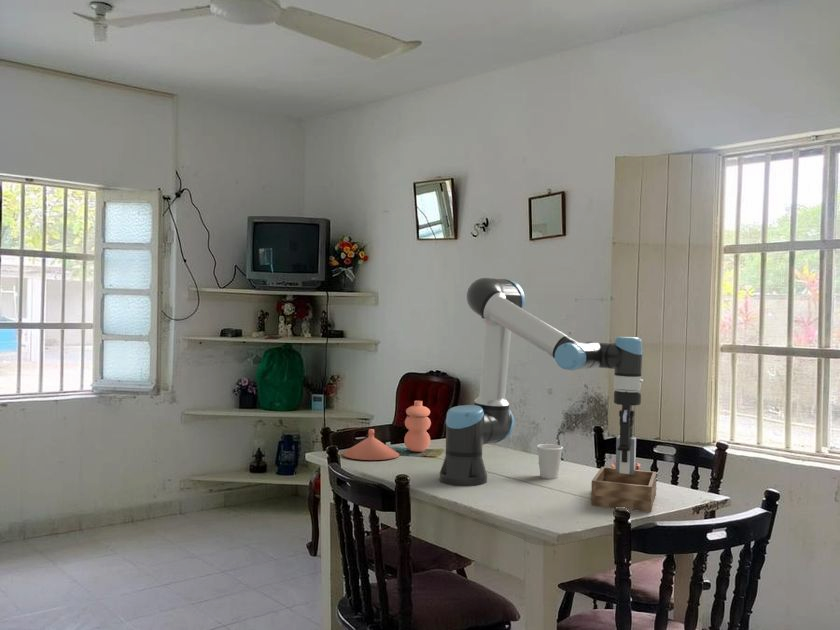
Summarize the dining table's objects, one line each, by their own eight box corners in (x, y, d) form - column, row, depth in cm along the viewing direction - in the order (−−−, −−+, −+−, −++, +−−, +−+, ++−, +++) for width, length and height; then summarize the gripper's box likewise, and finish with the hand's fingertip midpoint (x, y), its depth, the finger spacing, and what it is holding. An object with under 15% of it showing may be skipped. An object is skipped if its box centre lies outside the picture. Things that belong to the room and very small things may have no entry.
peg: (615, 473, 213) (616, 438, 213) (617, 469, 218) (618, 435, 218) (633, 474, 211) (634, 439, 211) (635, 471, 216) (636, 436, 216)
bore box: (591, 505, 208) (591, 480, 207) (601, 489, 227) (601, 466, 227) (651, 512, 202) (651, 487, 202) (656, 495, 221) (656, 472, 221)
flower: (644, 483, 236) (644, 458, 236) (636, 489, 228) (636, 463, 228) (613, 479, 241) (614, 455, 241) (605, 485, 233) (605, 460, 233)
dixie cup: (541, 472, 249) (542, 442, 249) (565, 476, 245) (566, 445, 245) (532, 477, 242) (532, 446, 242) (556, 480, 238) (557, 449, 238)
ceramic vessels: (356, 461, 260) (357, 407, 260) (333, 451, 278) (334, 400, 278) (442, 454, 277) (443, 404, 277) (415, 444, 296) (416, 397, 295)
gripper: (638, 394, 204) (636, 479, 205) (643, 388, 221) (641, 466, 221) (610, 392, 207) (608, 476, 207) (617, 387, 224) (615, 464, 224)
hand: (625, 471), depth 214 cm, fingers closed on peg, 5 cm apart
